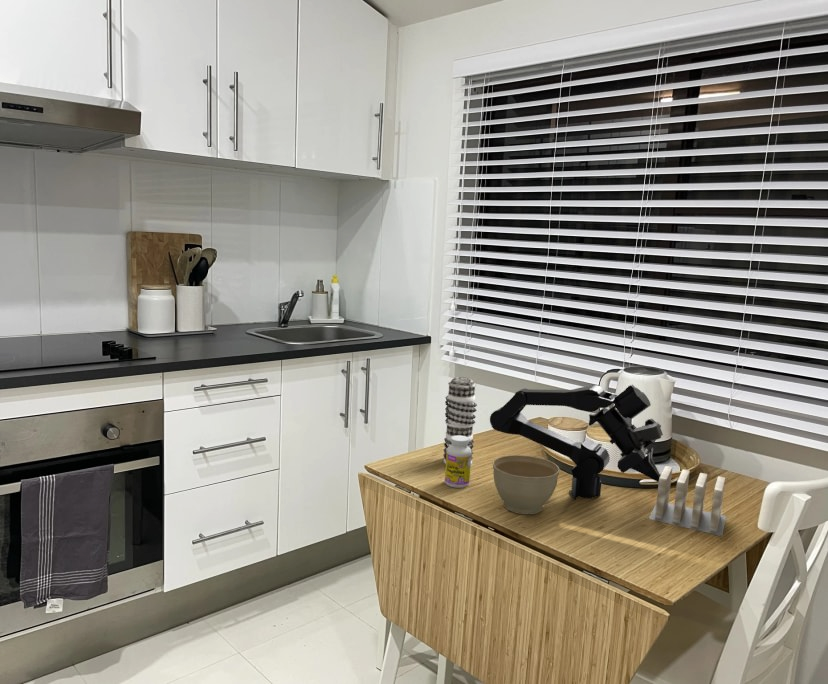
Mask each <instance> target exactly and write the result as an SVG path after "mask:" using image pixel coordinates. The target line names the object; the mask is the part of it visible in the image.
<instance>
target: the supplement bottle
mask: <svg viewBox="0 0 828 684" xmlns="http://www.w3.org/2000/svg"><path fill="white" fill-rule="evenodd" d="M451 443H452V445H450V446H449V447H448V448H447V453H446V464H445V473H444V484H446V485H447V486H448V487H451V488H456V489H462V488H466V487H468V486H469V485H470V482H471V480H470V479H471V470H472V469H471V465H472V464H471V454H472V451H473V450H472V451H471V449H470V448H469V447H468V443H469V438H468V437H465V436H459V435H457V436H452V437H451ZM472 455H473V454H472Z"/></svg>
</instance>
